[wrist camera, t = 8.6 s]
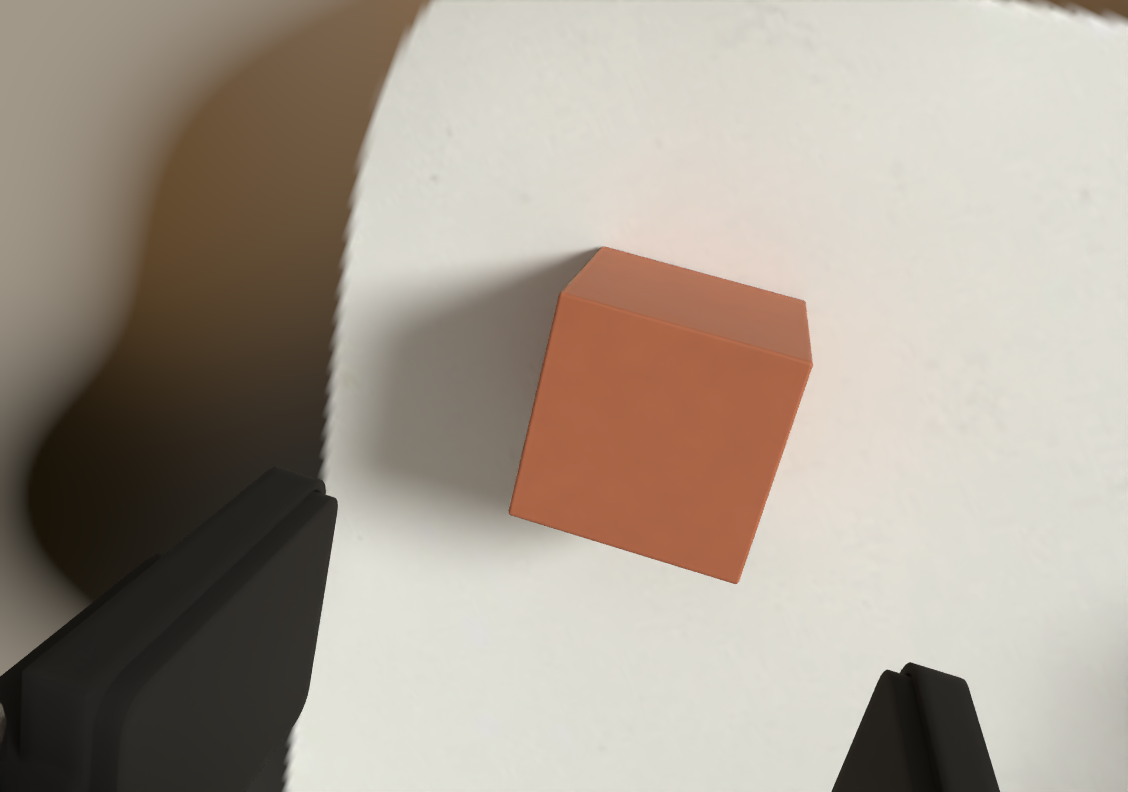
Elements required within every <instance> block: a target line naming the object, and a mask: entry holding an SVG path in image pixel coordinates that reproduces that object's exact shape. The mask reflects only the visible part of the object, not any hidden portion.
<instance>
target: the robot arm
mask: <svg viewBox="0 0 1128 792" xmlns="http://www.w3.org/2000/svg"><path fill="white" fill-rule="evenodd" d="M337 509H338V504H337V500H336V498H334V497H331V496H328V495H326V489H325V484H324V482H323V480H319V479H316V478H313V477H310V476H306V475H303V474H300V473H296V472H293V471H290V470H287V469H284V468H281V467H276V466H274V467H272V468H271V469H269V470H268V471H266V472H265V473H264V474H263V475H261V476H260V477H259V478H258V479H257V480H255V481H254V482H253V483H252V484H251V485H249V486H248V487H247V488H246V489H244V490H243V491H242V492H241V493H239V494H238V495H237V496H236V497H235V498H233V499H232V500H231V501H230V502H229V503H227V504H226V505H225V506H224V507H222V508H221V509H220V510H219V511H217V512H216V513H215V514H214V515H212V516H211V517H210V518H209V519H208V520H206V521H205V522H204V523H203V524H202V525H200V526H199V527H198V528H197V529H196V530H194V531H193V532H192V533H190V534H189V535H188V536H187V537H186V538H184V539H183V540H182V541H181V542H179V543H178V544H177V545H176V546H175V547H173V548H172V549H171V550H170V551H168V552H167V553H166V554H155V555H154V556H152V557H150V558H149V559H147V560H145V561H144V562H143V563H142V564H140V565H139V566H138V567H137V568H136V569H134V570H133V571H132V572H130V573H129V574H128V575H127V576H125V577H124V578H123V579H122V580H120V581H119V582H118V583H117V584H115V585H114V586H113V587H112V588H110V589H109V590H108V591H107V592H105V593H104V594H103V595H102V596H100V597H99V598H98V599H97V600H95V601H94V602H93V603H92V604H90V605H89V606H88V607H87V608H85V609H84V610H83V611H82V612H80V613H79V614H78V615H77V616H75V617H74V618H73V619H72V620H70V621H69V622H68V623H67V624H66V625H64V626H63V627H62V628H61V629H59V630H58V631H57V632H56V633H54V634H53V635H52V636H50V637H49V638H48V639H47V640H45V641H44V642H43V643H42V644H40V645H39V646H38V647H37V648H36V649H34V650H33V651H32V652H30V653H29V654H28V655H27V656H26V657H24V658H23V659H22V660H20V661H19V662H18V663H17V664H16V665H14V666H13V667H12V668H11V669H9V670H8V671H7V672H5V673H4V674H3V675H2V676H0V792H246V791H247V789H248V788H249V787H250V785H251V784H252V782H253V781H254V780H255V778H256V777H257V775H258V774H259V773H260V771H261V770H262V769H263V767H264V766H265V764H266V763H267V762H268V760H269V759H270V757H271V756H272V755H273V753H274V752H275V751H276V749H277V748H278V746H279V745H280V744H281V742H282V741H283V740H284V738H285V737H286V735H287V734H288V733H289V731H290V730H291V728H292V727H293V726H294V724H295V723H296V721H297V719H298V718H299V716H300V714H301V712H302V709H303V707H304V705H305V702H306V699H307V696H308V691H309V686H310V680H311V674H312V667H313V661H314V655H315V649H316V642H317V636H318V630H319V624H320V617H321V611H322V605H323V598H324V592H325V586H326V580H327V573H328V567H329V561H330V554H331V548H332V542H333V536H334V529H335V523H336V517H337ZM832 792H1000V790H999V787H998V784H997V780H996V777H995V774H994V770H993V767H992V764H991V760H990V757H989V754H988V750H987V747H986V744H985V741H984V737H983V734H982V731H981V727H980V724H979V721H978V717H977V714H976V711H975V707H974V704H973V701H972V698H971V694H970V691H969V688H968V685H967V683H966V681H965V680H964V679H962V678H959V677H956V676H953V675H950V674H946V673H943V672H940V671H937V670H933V669H930V668H927V667H924V666H921V665H917V664H914V663H911V662H910V663H908V664H906V665H905V666H904V667H903V669H902V670H901V672H900V673H897V672H893V671H890V670H886V671H884V672H883V673H882V675H881V676H880V678H879V680H878V683H877V685H876V687H875V690H874V692H873V694H872V697H871V699H870V702H869V704H868V706H867V709H866V711H865V713H864V716H863V718H862V721H861V723H860V725H859V728H858V730H857V732H856V735H855V737H854V740H853V742H852V744H851V747H850V749H849V751H848V754H847V756H846V759H845V761H844V763H843V766H842V768H841V770H840V773H839V775H838V778H837V780H836V782H835V785H834V787H833V789H832Z"/></svg>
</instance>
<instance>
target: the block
mask: <svg viewBox="0 0 1128 792" xmlns="http://www.w3.org/2000/svg"><path fill="white" fill-rule="evenodd" d="M812 366H813V363H812V354H811V345H810V337H809V328H808V319H807V310H806V302H805V301H803V300H799V299H796V298H792V297H788V296H784V295H781V294H777V293H773V292H770V291H766V290H762V289H759V288H755V287H751V286H748V285H744V284H740V283H737V282H733V281H729V280H726V279H722V278H718V277H715V276H711V275H707V274H704V273H700V272H696V271H692V270H689V269H685V268H681V267H678V266H674V265H670V264H667V263H663V262H659V261H656V260H652V259H648V258H645V257H641V256H637V255H634V254H630V253H626V252H623V251H619V250H615V249H612V248H608V247H601V248H600V250H599V251H598V252H597V253H596V254H595V255H594V256H593V257H592V258H591V259H590V261H589V262H588V263H587V264H586V265H585V266H584V267H583V268H582V269H581V270H580V272H579V273H578V274H577V275H576V276H575V277H574V278H573V279H572V280H571V281H570V283H569V284H568V285H567V286H566V287H565V288H564V289H563V290H562V291H561V292H560V294H559V296H558V301H557V305H556V309H555V313H554V318H553V322H552V326H551V331H550V335H549V339H548V344H547V348H546V352H545V356H544V361H543V365H542V369H541V374H540V378H539V382H538V387H537V391H536V395H535V399H534V404H533V408H532V412H531V417H530V421H529V425H528V430H527V434H526V438H525V443H524V447H523V451H522V455H521V460H520V464H519V468H518V473H517V477H516V481H515V486H514V490H513V494H512V498H511V503H510V507H509V514H510V515H512V516H515V517H518V518H522V519H525V520H528V521H531V522H535V523H538V524H541V525H544V526H548V527H551V528H554V529H557V530H561V531H564V532H567V533H570V534H574V535H577V536H580V537H584V538H587V539H590V540H593V541H597V542H600V543H603V544H606V545H610V546H613V547H616V548H619V549H623V550H626V551H629V552H632V553H636V554H639V555H642V556H645V557H649V558H652V559H655V560H659V561H662V562H665V563H668V564H672V565H675V566H678V567H681V568H685V569H688V570H691V571H694V572H698V573H701V574H704V575H707V576H711V577H714V578H717V579H720V580H724V581H727V582H730V583H734V584H737V583H738V582H739V580H740V577H741V574H742V571H743V568H744V565H745V562H746V559H747V556H748V554H749V551H750V548H751V545H752V542H753V539H754V536H755V533H756V530H757V527H758V524H759V521H760V518H761V515H762V513H763V510H764V507H765V504H766V501H767V498H768V495H769V492H770V489H771V486H772V483H773V480H774V477H775V474H776V472H777V469H778V466H779V463H780V460H781V457H782V454H783V451H784V448H785V445H786V442H787V439H788V436H789V433H790V431H791V428H792V425H793V422H794V419H795V416H796V413H797V410H798V407H799V404H800V401H801V398H802V395H803V392H804V390H805V387H806V384H807V381H808V378H809V375H810V372H811V369H812Z"/></svg>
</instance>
